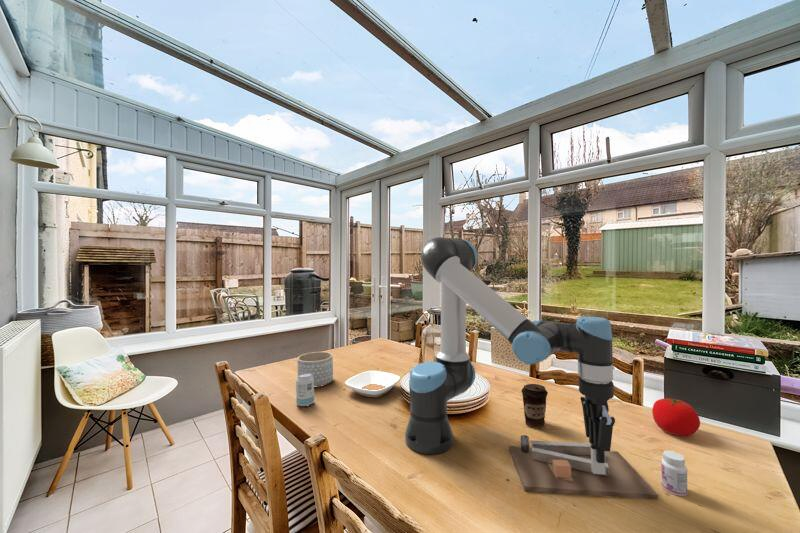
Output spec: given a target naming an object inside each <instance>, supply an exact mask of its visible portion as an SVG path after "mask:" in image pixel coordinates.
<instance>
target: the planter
mask: <svg viewBox="0 0 800 533" xmlns="http://www.w3.org/2000/svg"><path fill="white" fill-rule="evenodd" d="M333 358H334V357H333V353H331V352H328V351H313V352H307V353H304V354H303V353H302V354H301V355H299V356H297V359H296V360H297V361H296V362H297V366H296V367H297V376H298V375H299V374H301V373H311V374H312V376H313V378H314V386H321V385H325V384H327V383H328V384H329V383H331V382H332V381H333V380H334V361H333V360H334V359H333ZM328 384H327V385H328ZM325 386H326V385H325Z"/></svg>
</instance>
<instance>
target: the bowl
mask: <svg viewBox="0 0 800 533" xmlns="http://www.w3.org/2000/svg"><path fill="white" fill-rule="evenodd" d="M401 378H402V377H401V376H399V375H397V374H395V373H390V372H386V371H381V370H367V371H363V372H360V373H358V374H356V375H354V376H352V377H349V378H348V379H347V380H345V382H344V384H345V385H346V386H347V387H348V388H349V389H351V390H352V391H354V392H355V393H358V394H357V395H359V394H360V396H362V395H363V396H362V397H365V396H367V398H371V397H377V398H379V396H380V397H382V396H383V394H384V395H386V394H387V393H388V392H389V391H391V389H392V388H394V386H395V385H396V384H397V383H398V382H399V381H400V380H401ZM369 384H377V385H382V386H385V388H383V389H379V390H368V389H362V387H364V386H367V385H369ZM385 393H386V394H385ZM381 395H382V396H381Z"/></svg>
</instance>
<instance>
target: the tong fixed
mask: <svg viewBox="0 0 800 533" xmlns="http://www.w3.org/2000/svg"><path fill="white" fill-rule="evenodd" d="M529 441H530V442H529ZM530 443H531V444H530ZM520 447H521V451H522V452H524V453H529V447H531V449H532V447H534V448H539V449H544V450H548V451H553V452H557V453H562V454H575V455H591V444H590V442H574V441H573V442H571V441H548V440H530V438H529V436H528V435H526V434H521V435H520Z"/></svg>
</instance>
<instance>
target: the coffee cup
mask: <svg viewBox="0 0 800 533" xmlns="http://www.w3.org/2000/svg"><path fill="white" fill-rule="evenodd" d="M520 392H521V394H522V400H523V401H522V402H523V403H522V404H523V413H524V420H525V421H524V423H525V425H526V426H528V427H531V428H534V429H542V428H545V427H546V423H545V422H546V421H545V418H546V411H547V410H546V408H547V397H548V394H549V393H548V390H547V389H546V387H545V386H544V385H542V384H538V383H528V384H525V385H523V387H522V388H521V391H520Z"/></svg>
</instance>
